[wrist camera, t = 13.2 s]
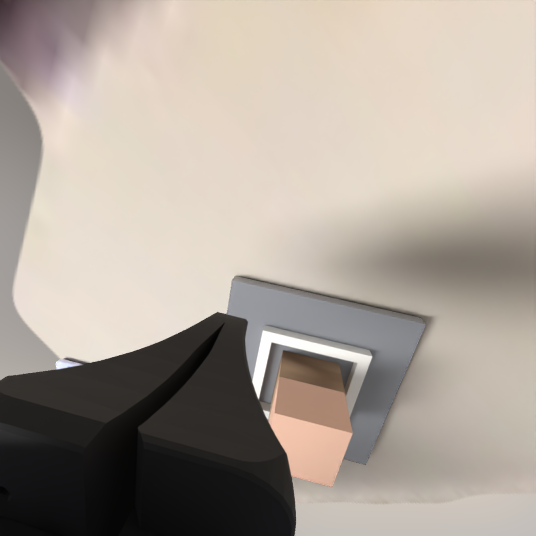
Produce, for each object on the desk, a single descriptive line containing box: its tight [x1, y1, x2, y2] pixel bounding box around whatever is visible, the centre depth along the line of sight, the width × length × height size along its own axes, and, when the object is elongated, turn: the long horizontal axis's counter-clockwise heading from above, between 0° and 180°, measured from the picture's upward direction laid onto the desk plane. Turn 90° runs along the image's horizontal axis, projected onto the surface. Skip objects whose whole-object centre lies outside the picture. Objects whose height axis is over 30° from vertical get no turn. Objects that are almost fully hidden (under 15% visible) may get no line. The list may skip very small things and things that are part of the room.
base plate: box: [227, 276, 426, 465], centre depth 21 cm, size 14×14×2 cm
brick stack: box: [268, 350, 353, 487], centre depth 18 cm, size 4×4×6 cm
